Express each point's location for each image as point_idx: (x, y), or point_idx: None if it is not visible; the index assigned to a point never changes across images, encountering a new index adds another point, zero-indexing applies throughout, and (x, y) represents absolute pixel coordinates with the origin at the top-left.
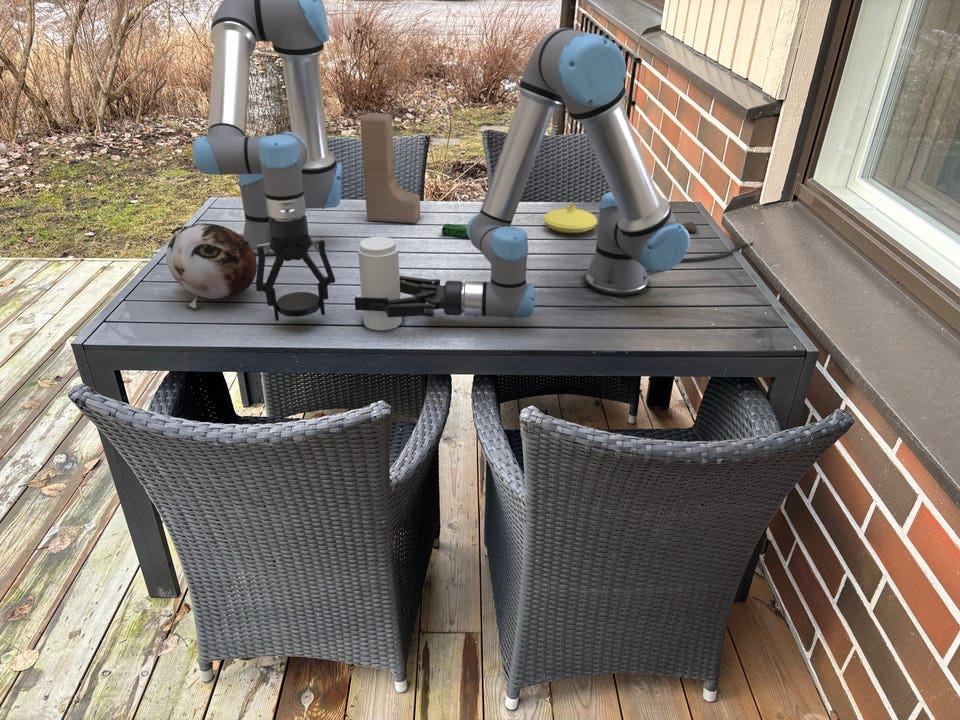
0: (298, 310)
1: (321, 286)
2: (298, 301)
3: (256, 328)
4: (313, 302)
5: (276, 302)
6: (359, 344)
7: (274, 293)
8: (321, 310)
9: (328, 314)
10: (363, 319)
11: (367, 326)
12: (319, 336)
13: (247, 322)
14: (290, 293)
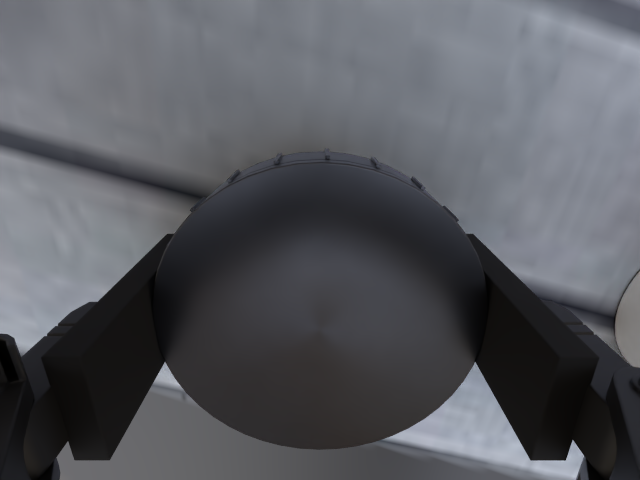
0: (308, 445)
1: (570, 434)
2: (320, 342)
3: (86, 211)
4: (425, 380)
5: (149, 386)
6: None
7: (103, 457)
8: None
9: (487, 149)
10: (636, 320)
11: (620, 347)
12: None
13: (17, 123)
14: (264, 174)
